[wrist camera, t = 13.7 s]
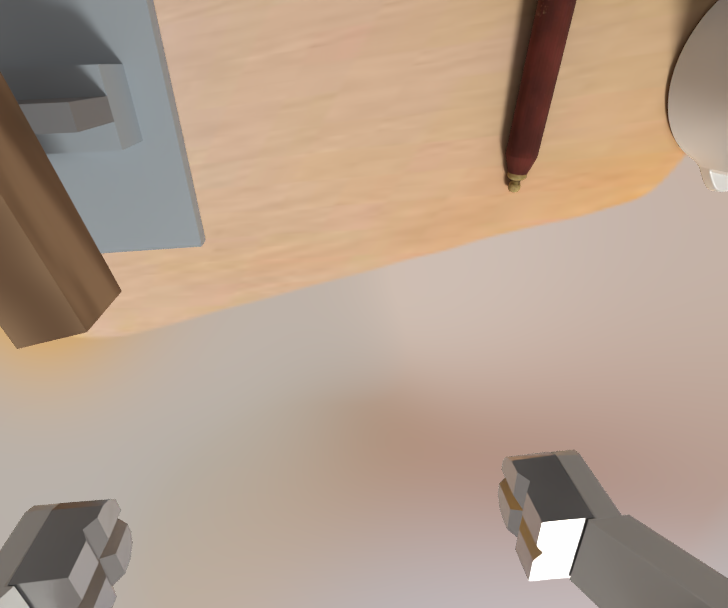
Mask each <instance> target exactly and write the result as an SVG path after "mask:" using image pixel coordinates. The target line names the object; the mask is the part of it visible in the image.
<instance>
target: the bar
mask: <svg viewBox="0 0 728 608" xmlns="http://www.w3.org/2000/svg"><path fill="white" fill-rule="evenodd" d="M120 293H121V289H120V287H119V285H118V284H117V282H116V280H115V278H114V276H113V275H112V273H111V271H110V269H109V267H108V266H107V264H106V262H105V260H104V258H103V256H102V255H101V253H100V251H99V249H98V247H97V246H96V244H95V242H94V240H93V238H92V237H91V235H90V233H89V231H88V229H87V228H86V226H85V224H84V222H83V220H82V218H81V217H80V215H79V213H78V211H77V209H76V208H75V206H74V204H73V202H72V200H71V199H70V197H69V195H68V193H67V191H66V189H65V188H64V186H63V184H62V182H61V180H60V179H59V177H58V175H57V173H56V171H55V170H54V168H53V166H52V164H51V162H50V160H49V159H48V157H47V155H46V153H45V151H44V150H43V148H42V146H41V144H40V142H39V141H38V139H37V137H36V135H35V133H34V131H33V130H32V128H31V126H30V124H29V122H28V121H27V119H26V117H25V115H24V113H23V112H22V110H21V108H20V106H19V104H18V102H17V101H16V99H15V97H14V95H13V93H12V92H11V90H10V88H9V86H8V84H7V83H6V81H5V79H4V77H3V75H2V73H1V72H0V326H1V328H2V329H3V330H4V332H5V333H6V334H7V336H8V337H9V339H10V340H11V341H12V343H13V344H14V345H15V347H16V348H17V349H18V348H23V347H27V346H31V345H35V344H39V343H44V342H47V341H52V340H56V339H60V338H64V337H68V336H73V335H77V334H81V333H85V332H87V331H88V330H89V329H90V328H91V327H92V325H93V324H94V323H95V322H96V321H97V320H98V318H99V317H100V316H101V315H102V314H103V313H104V311H105V310H106V309H107V308H108V307H109V305H110V304H111V303H112V302H113V301H114V300H115V298H116V297H117V296H118V295H119V294H120Z"/></svg>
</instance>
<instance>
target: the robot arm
mask: <svg viewBox="0 0 728 608" xmlns="http://www.w3.org/2000/svg"><path fill="white" fill-rule="evenodd" d="M668 116H669V123H670V127H671V131H672V133H673V136H674V138H675V140H676V142H677V143H678V145H679V146H680V148H681V149H682V150H683V151H684V152H685V153H686V154H687V155H688V156H689V157H691V158H692V159H693V160H694V161H695V162H696V163H697V164H698V166H699V168H700V172H701V175H702V179H703V181H704V184H705V185H706V187H707V188H708V189H709V190H712V191H719V192H725V191H728V0H718V1H717V2H716V3H715V4H714V5H713V6H712V8H711V9H710V10H709V11H708V12H707V13H706V14H705V16H704V17H703V18H702V19H701V21H700V22H699V23H698V25H697V26H696V28H695V29H694V31H693V32H692V34H691V35H690V37H689V39H688V40H687V42H686V44H685V46H684V48H683V50H682V52H681V54H680V56H679V59H678V61H677V64H676V67H675V69H674V73H673V76H672V80H671V84H670V89H669V97H668ZM502 471H503V474H504V475H505V479H503V481H502V482H500V483H499V491H498V497H499V506H500V510H501V514H502V518H503V520H504V523H505V525H506V528H507V529H508V530H509V531H510V532H511V533H513V534H514V535H515V536H516V537H518V538H517V543H516V549H515V550H516V552H517V554H518V556H519V559H520V561H521V564H522V566H523V569H524V571H525V573H526V576H527V578H528V580H529V581H533V580H544V579H555V578H565V577H570V580H571V581H572V582H573V583H574V584H575V585H576V586H577V587H578V588H579V589H580V590H581V591H582V592H583V593H584V594H585V595H586V596H587V597H589V598H590V599H591V600H592V601H593V602H594V603H595V604H596V605H597V606H598V607H599V608H728V578H726V577H725V576H723V575H722V574H720V573H718V572H717V571H715V570H714V569H713V568H711V567H709V566H708V565H706V564H705V563H703V562H702V561H700V560H699V559H697V558H695V557H694V556H692V555H691V554H689V553H688V552H686V551H685V550H683V549H681V548H680V547H678V546H677V545H675V544H674V543H672V542H671V541H669V540H668V539H666V538H664V537H663V536H661V535H660V534H658V533H656V532H655V531H653V530H652V529H650V528H649V527H647V526H646V525H644V524H643V523H641V522H640V521H638V520H636V519H635V518H633V517H632V516H630V515H621V513H620V512H619V511H618V509H617V507H616V506H615V504H614V503H613V502H612V500H611V499H610V497H609V496H608V494H607V493H606V491H605V490H604V489H603V487H602V486H601V484H600V483H599V482H598V480H597V478H596V477H595V476H594V474H593V473H592V471H591V470H590V468H589V467H588V465H587V464H586V463H585V461H584V460H583V458H582V457H581V455H580V454H579V453H578V452H577V451H575V450H566V451H556V452H544V453H535V454H527V455H518V456H510V457H506V458H505V459H504V460H503V464H502ZM120 512H121V509H120V507H119V505H118V503H117V501H116V499H108V500H95V501H84V502H83V501H82V502H70V503H59V504H48V505H37V506H33V507H32V508H30V509H29V510H28V511H27V512H26V513H25V514H24V515H23V516H22V518H21V520H20V521H19V523H18V524H17V526H16V527H15V529H14V530H13V532H12V533H11V535H10V537H9V538H8V540H7V541H6V542H5V544H4V546H3V547H2V549H1V550H0V608H112V607H113V605H114V602H115V599H116V594H115V591H114V588H113V585H114V584H115V583H116V582H117V581H118V580H119V579H120V578H121V577H122V576H123V575H124V574H125V573H126V570H127V567H128V564H129V561H130V557H131V551H132V543H133V542H132V535H131V530H130V528H129V526H128V524H127V523H125V522H123V521H122V520H120V519H118V516H119V514H120Z"/></svg>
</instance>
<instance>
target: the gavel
mask: <svg viewBox="0 0 728 608" xmlns="http://www.w3.org/2000/svg"><path fill="white" fill-rule="evenodd" d="M575 4H576V0H538V3H537V8H536V13H535V18H534V22H533V27H532V32H531V36H530V41H529V46H528V51H527V55H526V60H525V65H524V69H523V74H522V79H521V84H520V88H519V93H518V98H517V103H516V107H515V112H514V117H513V121H512V126H511V131H510V136H509V140H508V145H507V150H506V159H507V168H508V173H507V176H508V178H510V179H511V182H510V183H509V185H508V189H509V191H511V192H518V191H519V189H520V181H521V180H524V179H525V178H526V176H527V173H528V171H529V170H530V168H531V167H532V165H533V163H534V162H535V160H536V158H537V156H538V152H539V148H540V144H541V140H542V136H543V132H544V128H545V124H546V120H547V116H548V112H549V108H550V104H551V100H552V96H553V92H554V88H555V84H556V80H557V76H558V72H559V68H560V64H561V60H562V56H563V52H564V48H565V44H566V40H567V36H568V32H569V28H570V24H571V20H572V16H573V12H574V8H575Z"/></svg>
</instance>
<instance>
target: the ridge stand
mask: <svg viewBox="0 0 728 608" xmlns="http://www.w3.org/2000/svg"><path fill="white" fill-rule="evenodd" d="M0 72H1V73H2V75H3V77H4V79H5V81H6V83H7V84H8V86H9V88H10V90H11V92H12V93H13V95H14V97H15V99H16V101H17V102H18V104H19V106H20V108H21V110H22V112H23V113H24V115H25V117H26V119H27V121H28V122H29V124H30V126H31V128H32V130H33V131H34V133H35V135H36V137H37V139H38V141H39V142H40V144H41V146H42V148H43V150H44V151H45V153H46V155H47V157H48V159H49V160H50V162H51V164H52V166H53V168H54V170H55V171H56V173H57V175H58V177H59V179H60V180H61V182H62V184H63V186H64V188H65V189H66V191H67V193H68V195H69V197H70V199H71V200H72V202H73V204H74V206H75V208H76V209H77V211H78V213H79V215H80V217H81V218H82V220H83V222H84V224H85V226H86V228H87V229H88V231H89V233H90V235H91V237H92V238H93V240H94V242H95V244H96V246H97V247H98V249H99V251H100V253H112V252H127V251H142V250H156V249H171V248H186V247H201V246H202V245H203V244H204V242H205V235H204V231H203V226H202V221H201V217H200V212H199V208H198V203H197V199H196V194H195V189H194V185H193V180H192V176H191V171H190V167H189V162H188V158H187V153H186V148H185V144H184V139H183V135H182V130H181V126H180V121H179V116H178V112H177V107H176V103H175V98H174V94H173V89H172V85H171V80H170V75H169V71H168V66H167V62H166V57H165V53H164V48H163V43H162V39H161V34H160V30H159V25H158V21H157V16H156V12H155V7H154V2H153V0H0Z"/></svg>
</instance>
